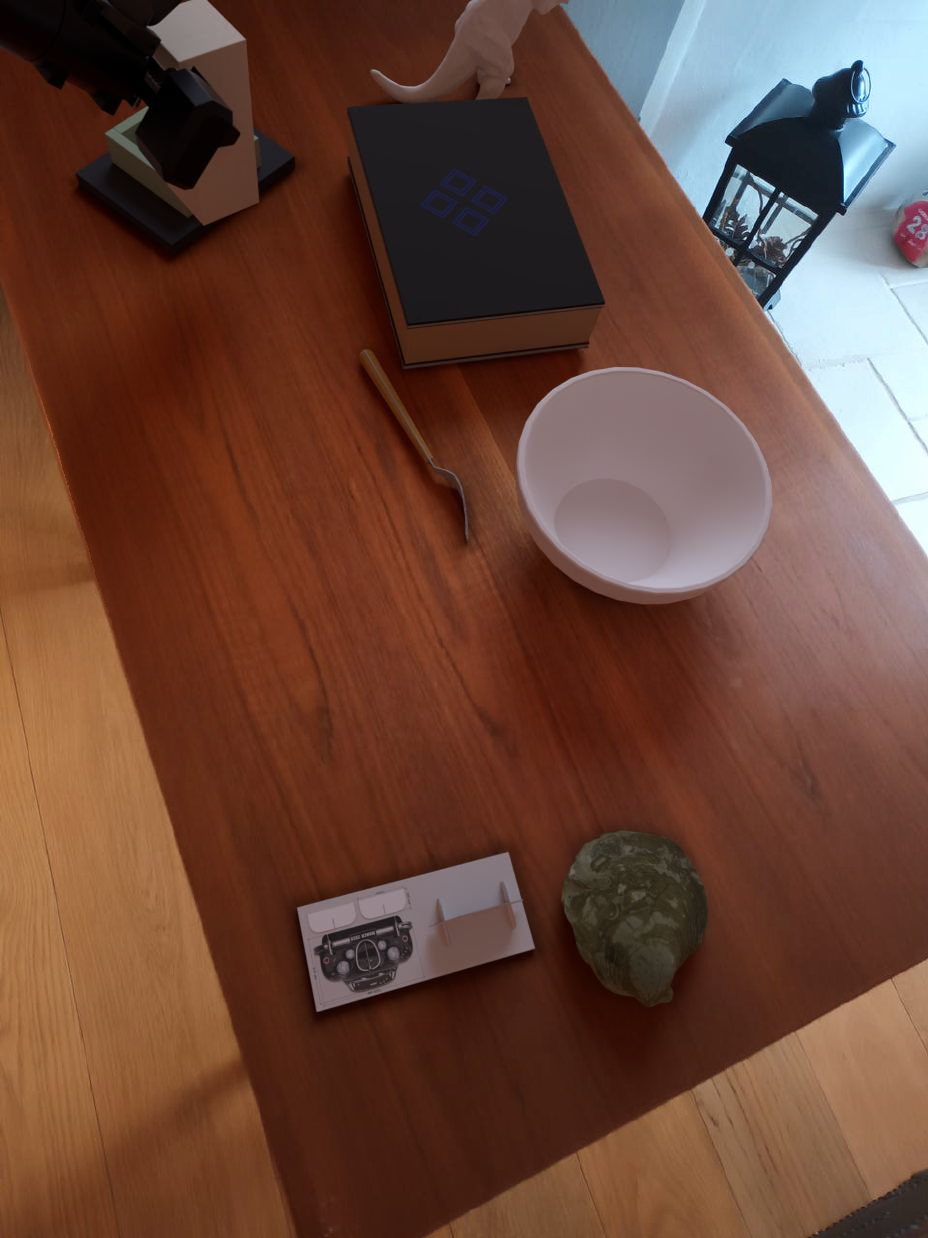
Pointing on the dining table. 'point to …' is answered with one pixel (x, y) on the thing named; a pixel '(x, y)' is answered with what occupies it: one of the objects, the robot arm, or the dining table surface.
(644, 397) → the bowl
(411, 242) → the book
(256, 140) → the stepped rectangular base
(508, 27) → the dinosaur figurine
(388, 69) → the dining table surface
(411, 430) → the fork
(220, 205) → the white rectangular block
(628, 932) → the seashell
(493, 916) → the car cutout
